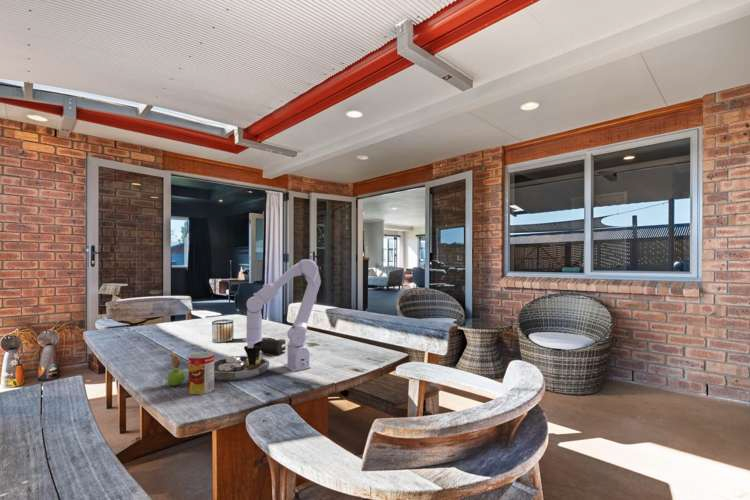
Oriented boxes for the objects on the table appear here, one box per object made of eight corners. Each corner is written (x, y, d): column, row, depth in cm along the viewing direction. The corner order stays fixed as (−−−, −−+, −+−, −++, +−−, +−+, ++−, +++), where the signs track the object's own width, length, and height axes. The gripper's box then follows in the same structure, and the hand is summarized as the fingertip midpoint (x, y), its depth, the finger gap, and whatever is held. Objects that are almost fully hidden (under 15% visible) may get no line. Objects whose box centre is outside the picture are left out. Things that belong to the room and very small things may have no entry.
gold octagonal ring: (263, 366, 143) (263, 358, 143) (251, 369, 138) (251, 361, 139) (255, 364, 146) (256, 356, 146) (243, 366, 142) (243, 359, 142)
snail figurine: (179, 380, 131) (179, 347, 131) (187, 384, 127) (187, 350, 127) (163, 385, 126) (163, 350, 127) (170, 389, 122) (171, 353, 123)
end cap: (258, 354, 166) (258, 339, 166) (268, 351, 173) (268, 336, 173) (277, 356, 163) (277, 341, 163) (286, 353, 169) (286, 338, 169)
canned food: (196, 385, 126) (196, 351, 126) (218, 386, 125) (218, 351, 125) (182, 394, 118) (183, 357, 118) (206, 395, 117) (206, 357, 118)
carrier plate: (275, 373, 140) (276, 361, 140) (215, 385, 126) (215, 372, 126) (255, 360, 157) (255, 350, 157) (200, 369, 143) (200, 358, 144)
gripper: (247, 324, 149) (247, 357, 149) (239, 331, 135) (238, 368, 135) (265, 323, 150) (264, 356, 150) (258, 330, 136) (258, 367, 136)
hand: (253, 362), depth 142 cm, fingers closed on gold octagonal ring, 5 cm apart
